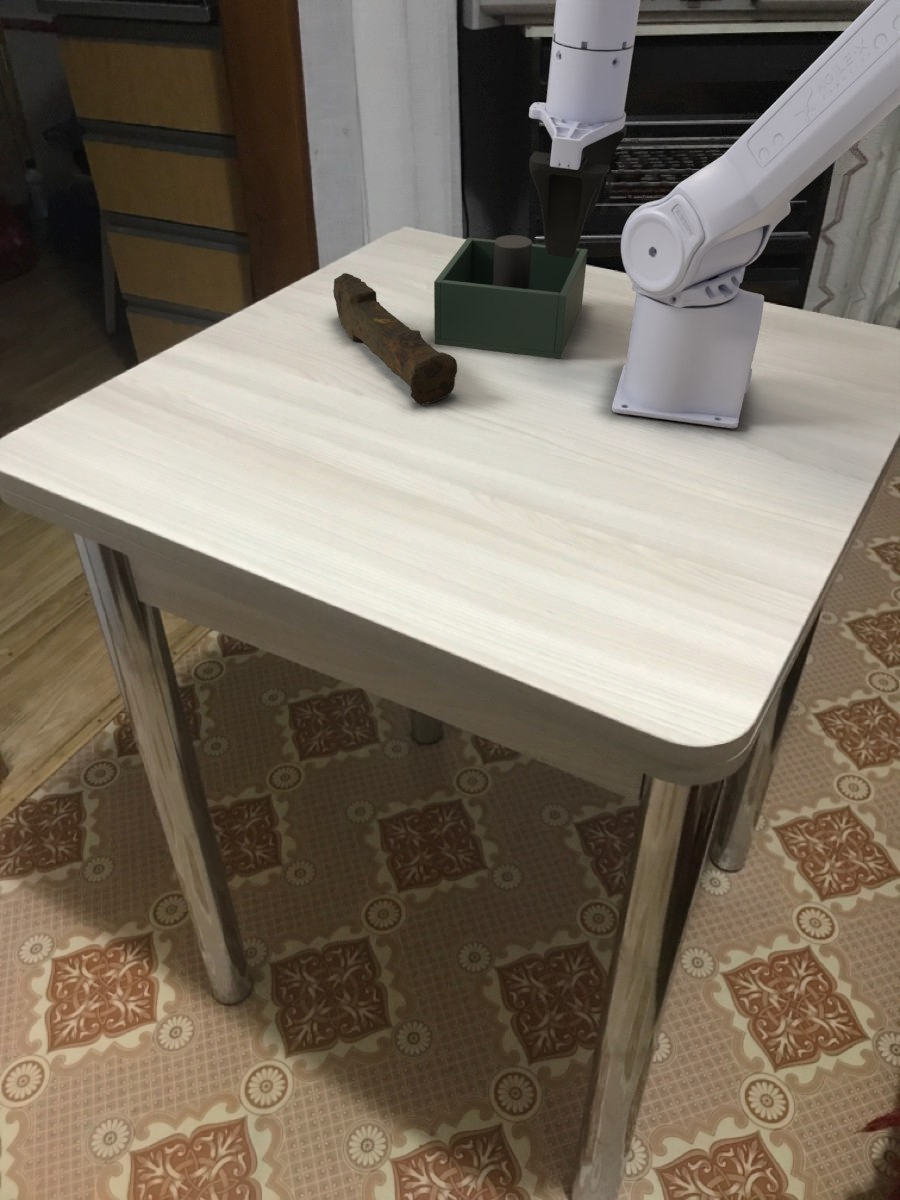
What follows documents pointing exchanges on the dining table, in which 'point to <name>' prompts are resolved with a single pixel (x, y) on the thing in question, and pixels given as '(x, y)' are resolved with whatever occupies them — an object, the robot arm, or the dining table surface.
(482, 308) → the green storage bin
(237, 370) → the dining table surface
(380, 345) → the hand tool
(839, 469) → the dining table surface
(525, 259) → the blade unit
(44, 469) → the dining table surface
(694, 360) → the robot arm
